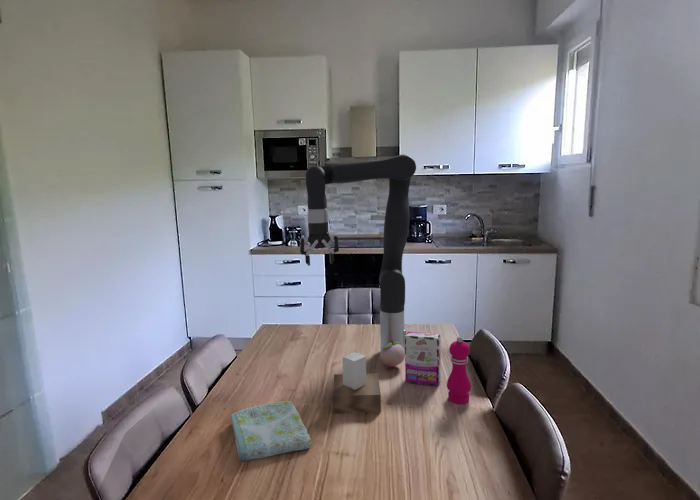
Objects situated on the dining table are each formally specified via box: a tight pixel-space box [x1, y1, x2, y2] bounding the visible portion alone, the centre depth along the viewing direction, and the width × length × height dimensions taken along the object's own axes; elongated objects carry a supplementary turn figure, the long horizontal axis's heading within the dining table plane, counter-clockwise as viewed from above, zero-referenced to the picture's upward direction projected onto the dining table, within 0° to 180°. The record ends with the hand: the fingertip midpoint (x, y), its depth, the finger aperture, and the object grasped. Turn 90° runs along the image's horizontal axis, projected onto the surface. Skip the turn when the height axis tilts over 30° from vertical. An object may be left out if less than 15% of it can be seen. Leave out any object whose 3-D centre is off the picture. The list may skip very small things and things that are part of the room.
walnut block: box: [331, 373, 382, 414], centre depth 137 cm, size 14×14×6 cm
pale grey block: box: [342, 351, 367, 390], centre depth 136 cm, size 5×5×9 cm
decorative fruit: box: [379, 341, 405, 368], centre depth 160 cm, size 9×8×10 cm
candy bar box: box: [404, 331, 442, 387], centre depth 148 cm, size 11×5×16 cm, turn 71°
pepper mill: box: [446, 336, 472, 405], centre depth 136 cm, size 7×7×20 cm
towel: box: [230, 400, 312, 462], centre depth 120 cm, size 18×21×5 cm
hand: (320, 264), depth 168 cm, fingers open, 8 cm apart
